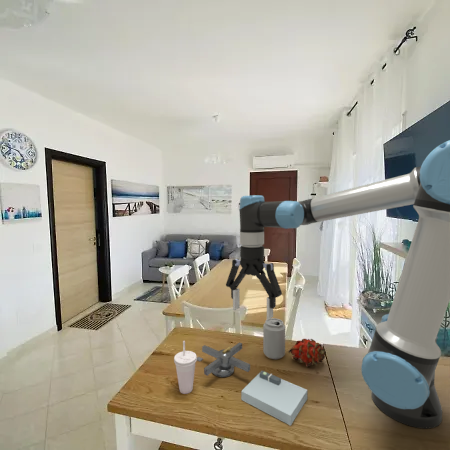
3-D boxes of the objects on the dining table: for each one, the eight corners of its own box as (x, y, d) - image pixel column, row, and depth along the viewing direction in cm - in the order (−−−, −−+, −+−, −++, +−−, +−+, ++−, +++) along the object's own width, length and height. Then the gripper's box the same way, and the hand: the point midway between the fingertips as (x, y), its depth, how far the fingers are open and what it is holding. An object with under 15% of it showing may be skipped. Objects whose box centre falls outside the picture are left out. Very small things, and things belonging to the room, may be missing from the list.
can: (285, 361, 88) (285, 327, 88) (262, 359, 90) (262, 325, 89) (284, 349, 96) (285, 317, 95) (263, 347, 97) (264, 316, 96)
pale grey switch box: (307, 398, 71) (307, 384, 71) (290, 425, 63) (290, 409, 62) (261, 378, 80) (261, 365, 80) (241, 399, 71) (241, 385, 71)
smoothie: (188, 378, 80) (187, 334, 79) (201, 389, 76) (201, 341, 75) (170, 389, 76) (169, 341, 75) (183, 400, 71) (182, 350, 70)
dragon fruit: (329, 371, 86) (291, 372, 88) (323, 345, 92) (288, 346, 95) (329, 359, 81) (289, 360, 83) (323, 332, 87) (286, 334, 90)
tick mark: (203, 359, 90) (203, 358, 90) (199, 361, 89) (199, 360, 89) (198, 357, 91) (198, 356, 91) (195, 359, 90) (195, 358, 90)
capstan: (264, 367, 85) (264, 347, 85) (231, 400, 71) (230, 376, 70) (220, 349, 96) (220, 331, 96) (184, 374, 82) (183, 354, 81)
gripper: (293, 246, 78) (293, 318, 80) (228, 241, 93) (229, 301, 94) (282, 250, 72) (282, 327, 74) (214, 243, 87) (215, 308, 88)
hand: (252, 313), depth 84 cm, fingers open, 12 cm apart
